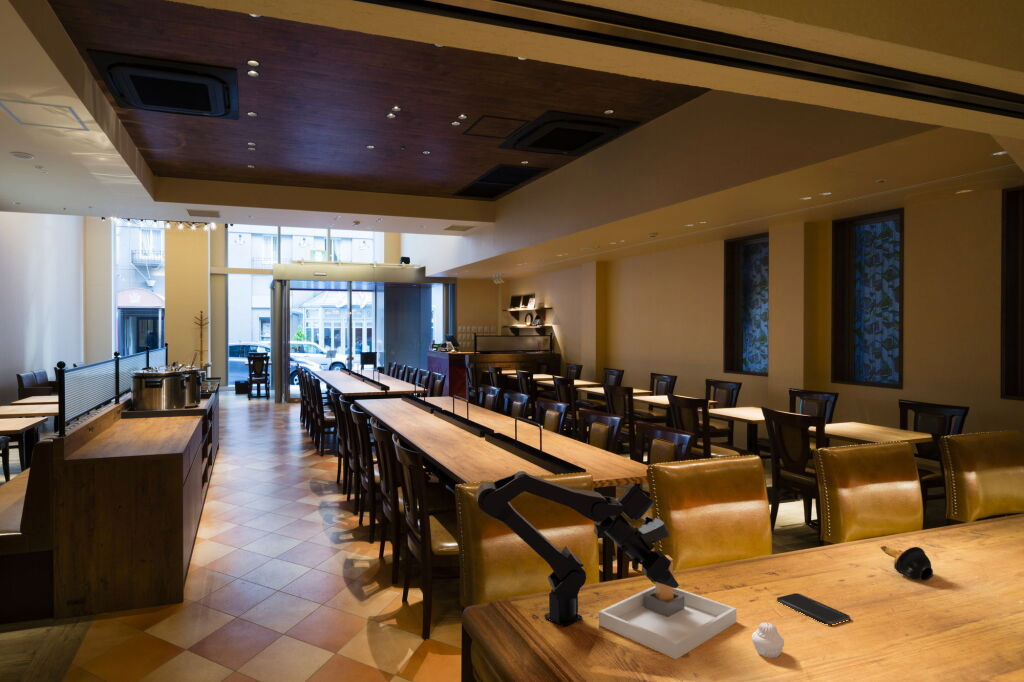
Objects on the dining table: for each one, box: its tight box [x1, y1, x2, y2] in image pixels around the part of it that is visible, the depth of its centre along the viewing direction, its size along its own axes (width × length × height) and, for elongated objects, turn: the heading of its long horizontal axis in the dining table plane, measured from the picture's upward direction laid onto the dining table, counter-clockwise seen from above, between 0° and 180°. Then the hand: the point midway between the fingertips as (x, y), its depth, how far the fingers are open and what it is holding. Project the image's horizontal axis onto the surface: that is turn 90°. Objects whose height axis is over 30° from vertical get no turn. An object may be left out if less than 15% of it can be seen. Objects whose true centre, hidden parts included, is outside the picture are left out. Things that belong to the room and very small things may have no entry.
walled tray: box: [598, 585, 738, 660], centre depth 135 cm, size 24×20×4 cm
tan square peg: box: [654, 554, 674, 602], centre depth 143 cm, size 3×3×12 cm
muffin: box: [751, 622, 785, 659], centre depth 122 cm, size 6×6×7 cm
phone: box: [776, 593, 851, 625], centre depth 144 cm, size 8×1×15 cm
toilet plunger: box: [879, 545, 934, 582], centre depth 167 cm, size 9×11×18 cm
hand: (669, 579), depth 143 cm, fingers open, 9 cm apart
